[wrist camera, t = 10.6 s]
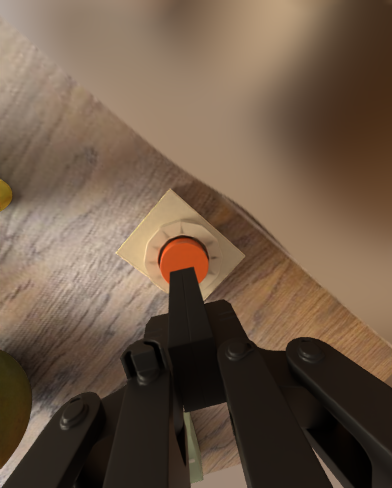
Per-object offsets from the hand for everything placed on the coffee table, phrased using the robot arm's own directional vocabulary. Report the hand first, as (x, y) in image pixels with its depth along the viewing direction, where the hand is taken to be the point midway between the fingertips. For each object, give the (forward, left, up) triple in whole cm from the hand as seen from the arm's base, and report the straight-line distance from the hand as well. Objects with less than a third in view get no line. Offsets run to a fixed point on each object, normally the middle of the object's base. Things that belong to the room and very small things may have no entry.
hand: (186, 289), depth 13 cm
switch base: (0, 0, -10) cm, 10 cm away
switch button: (0, 0, -7) cm, 7 cm away
